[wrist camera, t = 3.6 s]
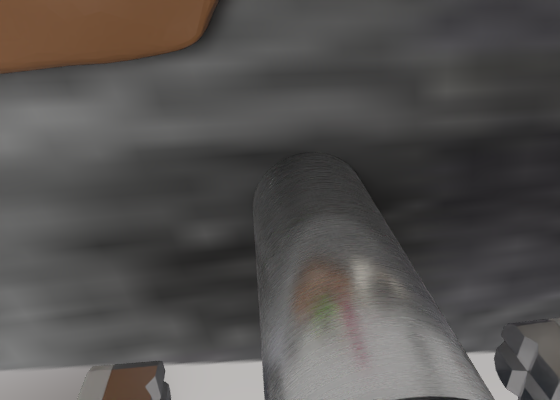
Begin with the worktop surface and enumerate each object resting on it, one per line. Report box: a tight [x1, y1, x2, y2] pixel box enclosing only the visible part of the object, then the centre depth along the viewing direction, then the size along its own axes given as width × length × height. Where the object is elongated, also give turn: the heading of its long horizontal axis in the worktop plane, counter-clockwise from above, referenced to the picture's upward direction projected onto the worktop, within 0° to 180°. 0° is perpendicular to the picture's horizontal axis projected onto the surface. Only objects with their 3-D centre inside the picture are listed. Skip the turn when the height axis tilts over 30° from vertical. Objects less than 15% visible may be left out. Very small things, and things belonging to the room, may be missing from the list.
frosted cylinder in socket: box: [253, 153, 494, 400], centre depth 11 cm, size 5×5×12 cm
